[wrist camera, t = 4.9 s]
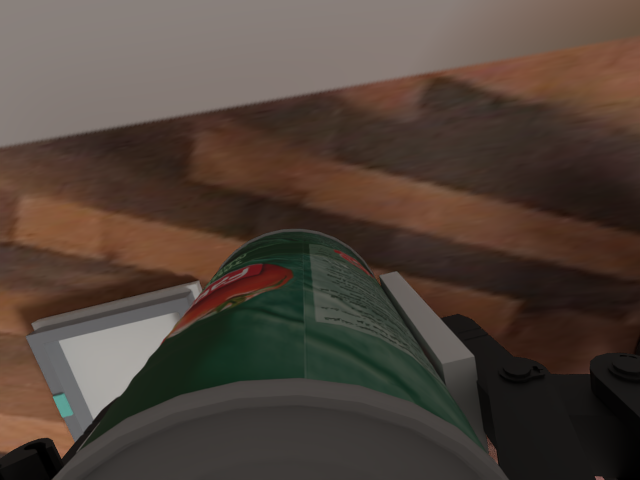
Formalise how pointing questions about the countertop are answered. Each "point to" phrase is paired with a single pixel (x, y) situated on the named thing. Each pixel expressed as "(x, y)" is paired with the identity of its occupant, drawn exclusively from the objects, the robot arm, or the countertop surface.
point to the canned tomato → (286, 383)
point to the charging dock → (104, 348)
